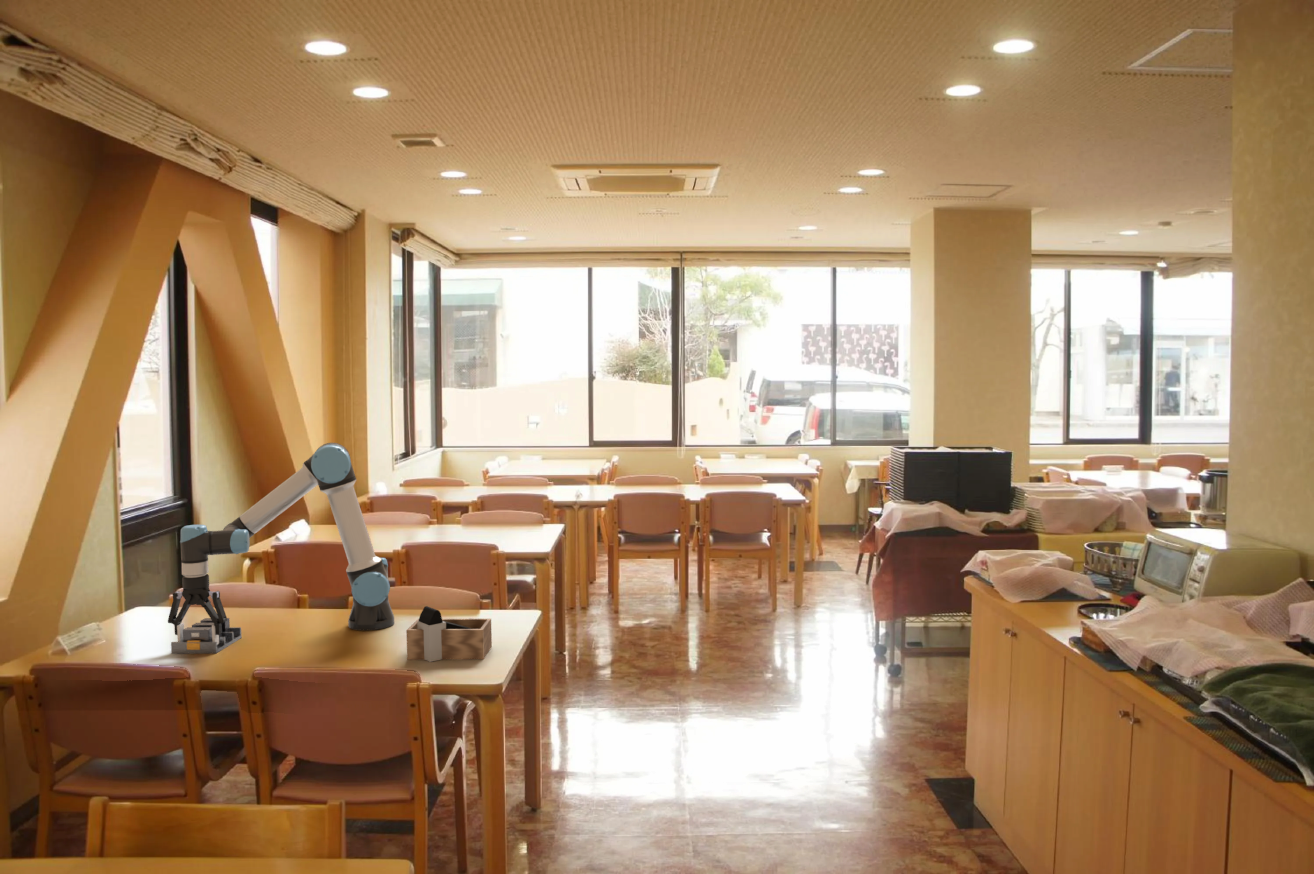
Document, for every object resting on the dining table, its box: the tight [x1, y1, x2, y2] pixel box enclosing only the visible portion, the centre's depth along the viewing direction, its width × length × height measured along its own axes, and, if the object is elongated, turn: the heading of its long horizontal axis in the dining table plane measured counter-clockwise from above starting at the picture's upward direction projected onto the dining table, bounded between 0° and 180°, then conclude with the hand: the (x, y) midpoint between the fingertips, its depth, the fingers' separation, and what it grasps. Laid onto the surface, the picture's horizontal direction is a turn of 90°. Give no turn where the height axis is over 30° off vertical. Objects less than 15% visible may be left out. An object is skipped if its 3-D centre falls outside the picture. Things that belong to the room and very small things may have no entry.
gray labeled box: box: [183, 626, 212, 642], centre depth 298 cm, size 8×3×6 cm, turn 89°
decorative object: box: [417, 605, 472, 663], centre depth 293 cm, size 8×18×15 cm, turn 132°
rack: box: [170, 617, 242, 655], centre depth 304 cm, size 14×17×7 cm
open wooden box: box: [405, 618, 493, 661], centre depth 293 cm, size 23×13×9 cm, turn 89°
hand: (198, 644), depth 299 cm, fingers open, 10 cm apart
